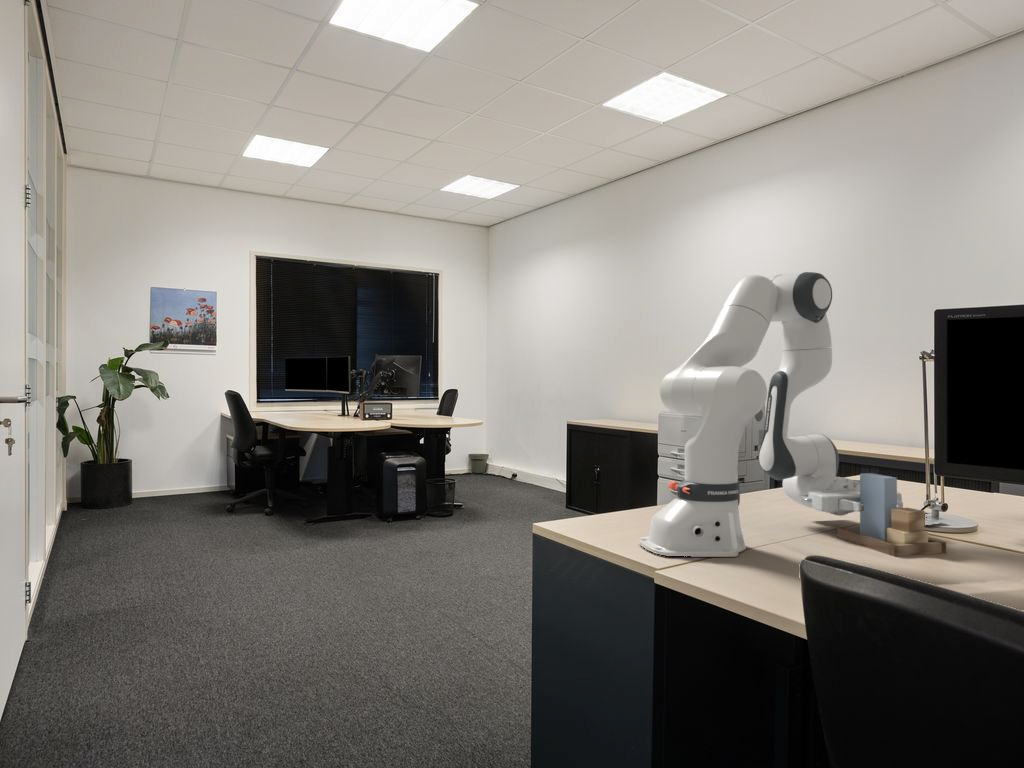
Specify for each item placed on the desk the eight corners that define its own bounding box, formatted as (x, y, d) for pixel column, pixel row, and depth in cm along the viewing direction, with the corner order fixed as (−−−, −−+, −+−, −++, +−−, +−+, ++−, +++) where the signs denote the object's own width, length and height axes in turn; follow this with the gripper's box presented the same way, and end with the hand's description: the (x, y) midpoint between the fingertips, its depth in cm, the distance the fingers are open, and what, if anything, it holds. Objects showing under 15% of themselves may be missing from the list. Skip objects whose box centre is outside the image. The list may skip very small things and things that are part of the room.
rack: (893, 563, 125) (893, 546, 125) (837, 543, 141) (837, 527, 141) (946, 560, 127) (946, 542, 127) (884, 540, 143) (884, 525, 143)
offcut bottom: (904, 553, 127) (904, 533, 127) (887, 547, 132) (887, 528, 132) (928, 551, 128) (928, 531, 128) (910, 546, 133) (910, 526, 133)
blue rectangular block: (884, 545, 133) (884, 478, 133) (860, 537, 140) (859, 473, 140) (897, 544, 134) (896, 477, 134) (872, 536, 141) (871, 473, 141)
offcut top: (908, 532, 128) (908, 512, 128) (891, 528, 131) (891, 509, 131) (924, 530, 129) (924, 510, 129) (906, 526, 133) (906, 507, 133)
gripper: (796, 483, 148) (837, 493, 134) (873, 480, 152) (921, 490, 138) (796, 510, 148) (837, 523, 134) (873, 507, 152) (921, 519, 138)
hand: (880, 506), depth 136 cm, fingers open, 8 cm apart
